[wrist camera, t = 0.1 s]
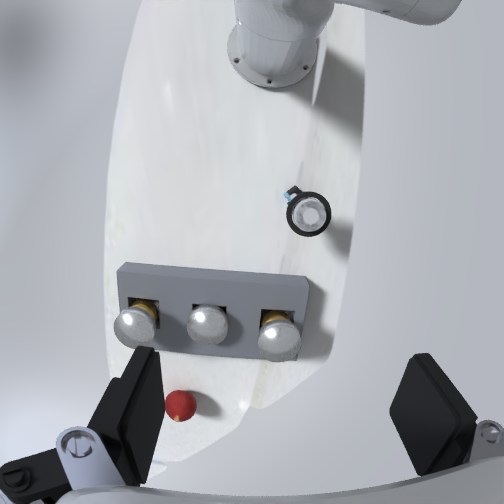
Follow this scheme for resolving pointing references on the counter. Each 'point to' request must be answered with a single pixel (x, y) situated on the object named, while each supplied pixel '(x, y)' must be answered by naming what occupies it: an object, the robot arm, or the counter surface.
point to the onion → (180, 405)
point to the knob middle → (208, 324)
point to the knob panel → (215, 293)
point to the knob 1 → (137, 324)
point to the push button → (307, 212)
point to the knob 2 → (278, 337)
